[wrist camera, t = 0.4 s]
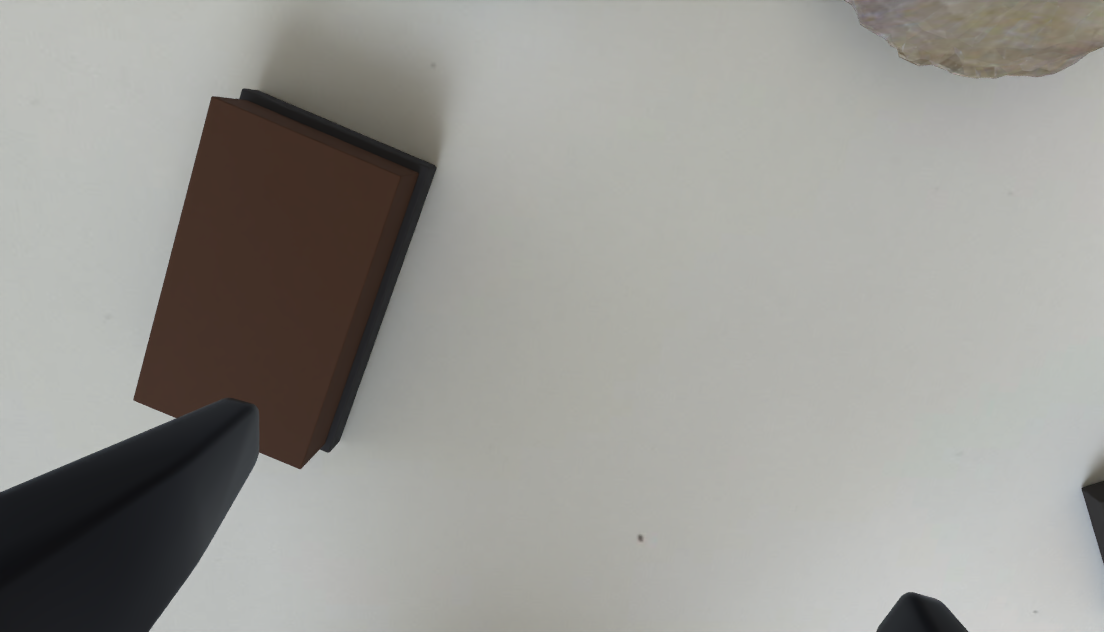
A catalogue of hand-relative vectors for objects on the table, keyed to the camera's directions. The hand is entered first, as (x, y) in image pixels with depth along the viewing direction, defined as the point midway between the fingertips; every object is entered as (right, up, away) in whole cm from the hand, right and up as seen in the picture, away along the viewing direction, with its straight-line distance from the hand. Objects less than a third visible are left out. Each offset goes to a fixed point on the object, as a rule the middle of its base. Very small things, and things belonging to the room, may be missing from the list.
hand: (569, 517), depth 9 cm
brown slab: (-9, +4, +15) cm, 18 cm away
